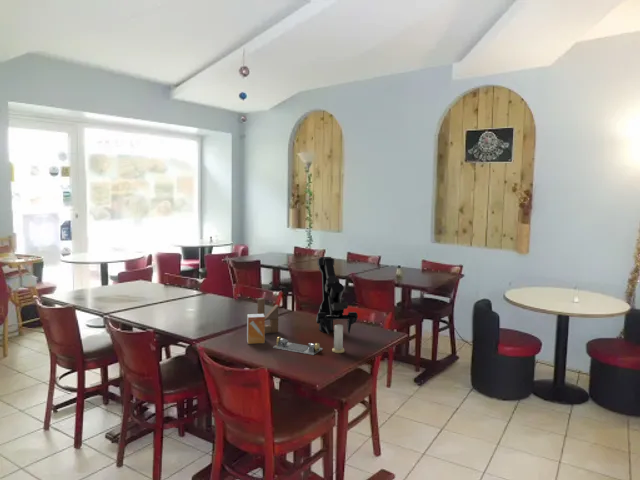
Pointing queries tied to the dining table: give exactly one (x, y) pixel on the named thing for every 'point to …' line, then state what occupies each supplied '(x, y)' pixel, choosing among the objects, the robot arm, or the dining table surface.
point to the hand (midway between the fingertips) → (339, 333)
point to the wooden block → (269, 316)
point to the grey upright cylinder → (338, 339)
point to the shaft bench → (297, 347)
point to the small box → (255, 328)
